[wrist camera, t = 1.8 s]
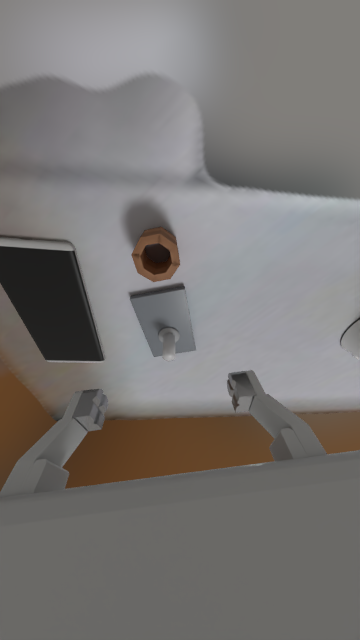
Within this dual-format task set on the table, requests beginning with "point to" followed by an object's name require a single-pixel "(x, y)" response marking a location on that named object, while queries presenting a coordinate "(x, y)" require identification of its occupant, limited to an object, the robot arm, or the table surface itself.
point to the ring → (147, 265)
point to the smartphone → (51, 298)
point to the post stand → (165, 321)
